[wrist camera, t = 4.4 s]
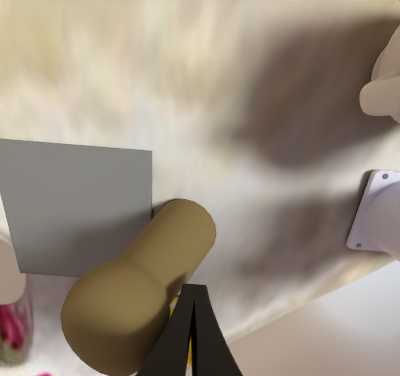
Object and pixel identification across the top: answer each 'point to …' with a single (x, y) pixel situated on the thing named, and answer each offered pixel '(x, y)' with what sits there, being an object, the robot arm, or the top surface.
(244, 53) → the top surface
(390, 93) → the teacup
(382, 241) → the robot arm
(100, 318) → the cork
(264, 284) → the top surface
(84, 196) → the mat
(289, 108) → the top surface
